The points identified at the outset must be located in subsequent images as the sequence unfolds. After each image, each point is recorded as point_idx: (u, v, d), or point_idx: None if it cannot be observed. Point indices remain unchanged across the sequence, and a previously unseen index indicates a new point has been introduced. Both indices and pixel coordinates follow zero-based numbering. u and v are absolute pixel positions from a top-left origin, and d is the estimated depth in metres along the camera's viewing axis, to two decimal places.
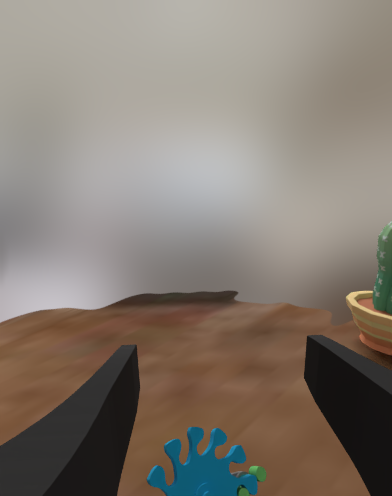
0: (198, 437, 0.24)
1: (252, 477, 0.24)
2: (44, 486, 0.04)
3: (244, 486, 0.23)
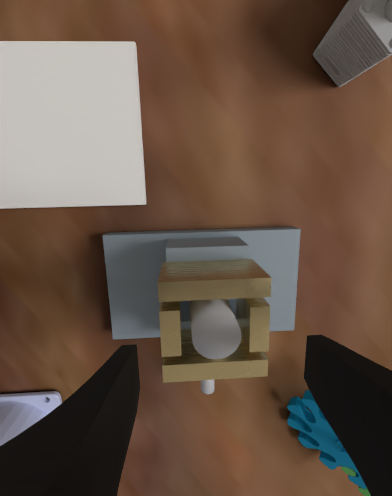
0: None
1: (363, 486, 0.22)
2: (44, 486, 0.04)
3: (356, 475, 0.22)
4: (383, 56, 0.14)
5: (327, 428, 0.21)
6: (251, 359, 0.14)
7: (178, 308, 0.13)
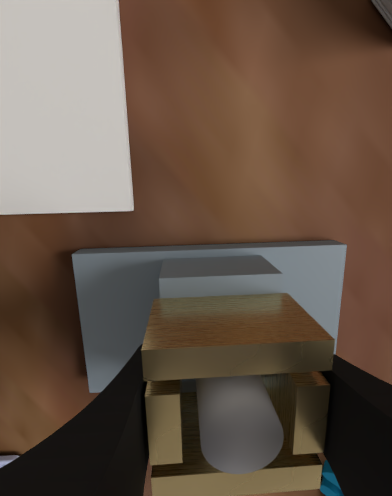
0: None
1: None
2: (94, 482, 0.04)
3: None
4: None
5: None
6: (295, 464, 0.09)
7: (177, 388, 0.08)
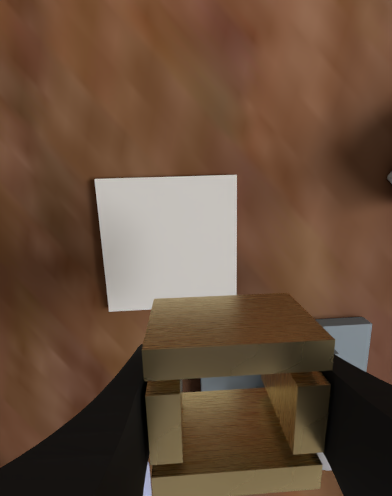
0: None
1: None
2: (94, 482, 0.04)
3: None
4: None
5: None
6: (295, 464, 0.09)
7: (177, 388, 0.08)
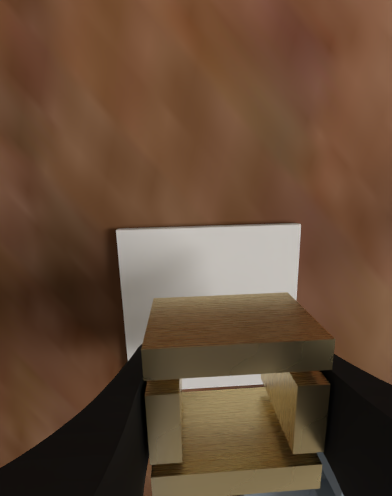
0: None
1: None
2: (94, 481, 0.04)
3: None
4: None
5: None
6: (295, 463, 0.09)
7: (177, 388, 0.08)
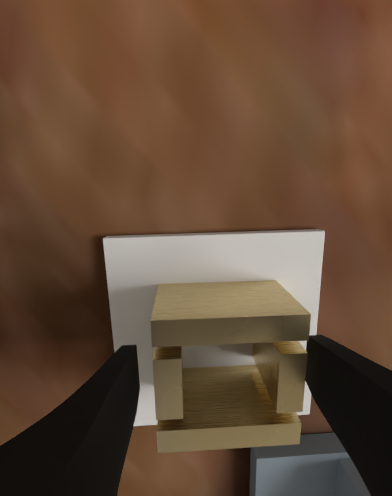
0: None
1: None
2: (44, 486, 0.04)
3: None
4: None
5: None
6: (278, 422, 0.10)
7: (179, 354, 0.10)
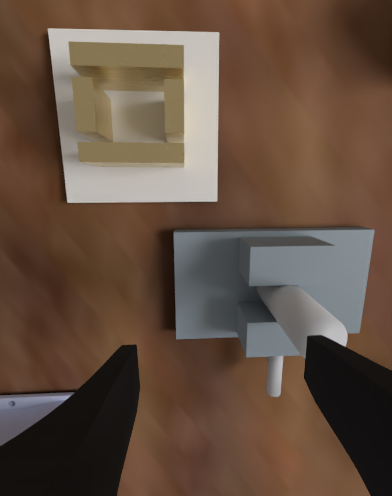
0: None
1: None
2: (44, 486, 0.04)
3: None
4: None
5: None
6: (168, 143, 0.14)
7: None
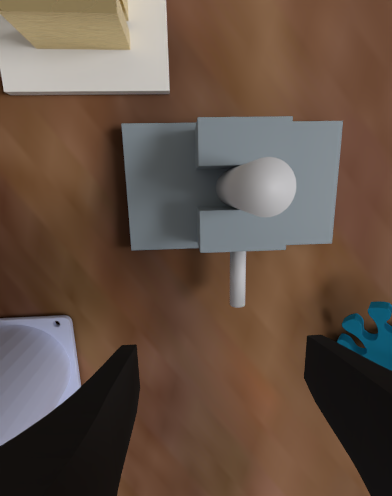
0: None
1: None
2: (44, 486, 0.04)
3: None
4: None
5: (391, 344, 0.19)
6: None
7: None
